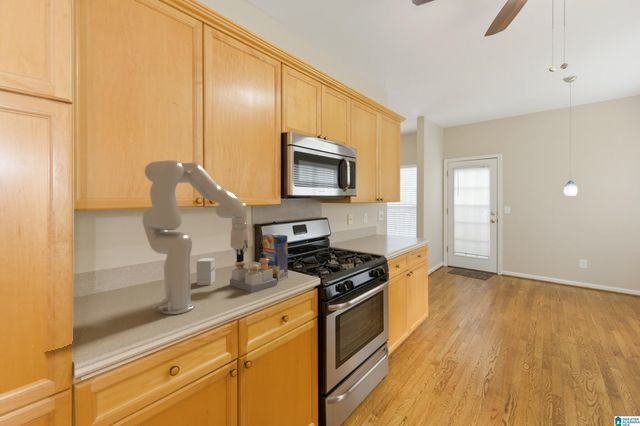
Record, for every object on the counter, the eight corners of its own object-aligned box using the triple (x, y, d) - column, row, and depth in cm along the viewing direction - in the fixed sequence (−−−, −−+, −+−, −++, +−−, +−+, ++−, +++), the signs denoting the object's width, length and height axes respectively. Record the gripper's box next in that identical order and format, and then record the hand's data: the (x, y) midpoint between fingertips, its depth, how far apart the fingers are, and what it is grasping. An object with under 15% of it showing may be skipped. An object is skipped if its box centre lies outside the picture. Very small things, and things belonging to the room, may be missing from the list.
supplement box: (211, 285, 148) (210, 261, 148) (196, 285, 148) (195, 261, 147) (215, 280, 156) (215, 257, 155) (201, 281, 155) (201, 258, 155)
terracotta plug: (263, 277, 146) (263, 260, 145) (257, 275, 149) (257, 258, 148) (271, 275, 149) (270, 258, 149) (265, 273, 153) (265, 257, 152)
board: (251, 292, 137) (251, 276, 136) (229, 284, 149) (229, 269, 149) (277, 285, 149) (277, 269, 148) (255, 277, 161) (255, 263, 161)
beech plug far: (238, 279, 147) (238, 263, 146) (233, 278, 150) (233, 261, 149) (246, 277, 150) (246, 261, 150) (241, 276, 153) (241, 260, 153)
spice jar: (252, 284, 139) (252, 267, 138) (246, 282, 142) (246, 265, 141) (260, 282, 142) (260, 265, 142) (255, 280, 145) (254, 263, 145)
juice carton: (287, 278, 161) (287, 235, 160) (277, 281, 156) (277, 237, 154) (273, 274, 169) (273, 233, 167) (263, 277, 163) (262, 235, 161)
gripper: (225, 226, 150) (226, 260, 152) (241, 228, 140) (242, 265, 142) (237, 224, 156) (238, 258, 157) (254, 227, 146) (254, 262, 147)
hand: (240, 261), depth 149 cm, fingers closed
